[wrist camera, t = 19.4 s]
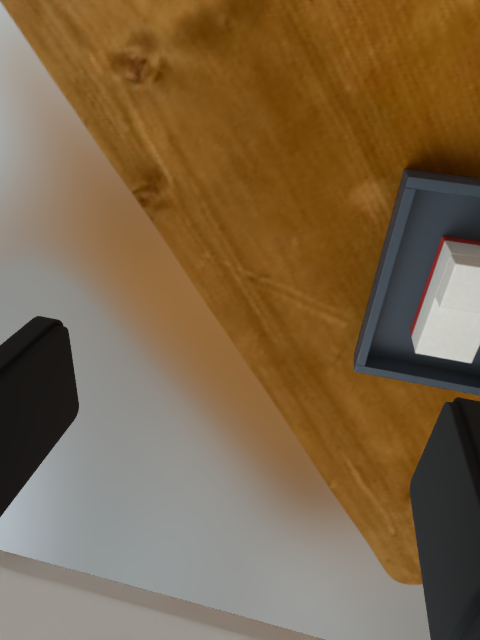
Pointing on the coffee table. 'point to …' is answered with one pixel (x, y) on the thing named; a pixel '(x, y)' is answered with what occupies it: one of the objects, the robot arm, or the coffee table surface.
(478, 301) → the red-bottomed white block
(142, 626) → the robot arm
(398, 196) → the tray
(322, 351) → the coffee table surface
